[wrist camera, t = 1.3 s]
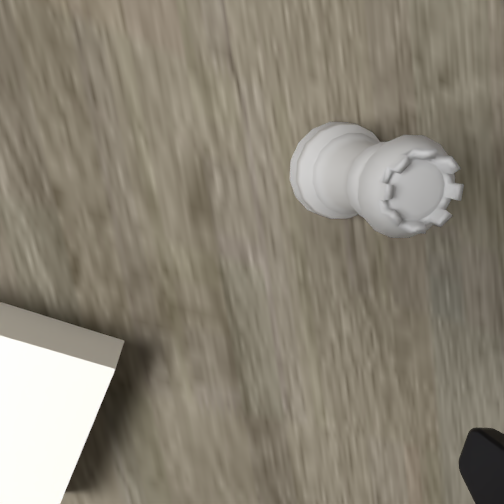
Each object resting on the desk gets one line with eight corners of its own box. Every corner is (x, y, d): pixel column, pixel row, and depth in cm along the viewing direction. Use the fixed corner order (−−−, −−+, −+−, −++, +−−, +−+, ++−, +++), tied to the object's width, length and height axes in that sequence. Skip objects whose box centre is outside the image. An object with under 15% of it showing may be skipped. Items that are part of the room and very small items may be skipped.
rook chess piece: (360, 222, 20) (463, 275, 13) (277, 206, 19) (333, 251, 12) (386, 133, 19) (516, 132, 11) (299, 111, 18) (377, 93, 11)
